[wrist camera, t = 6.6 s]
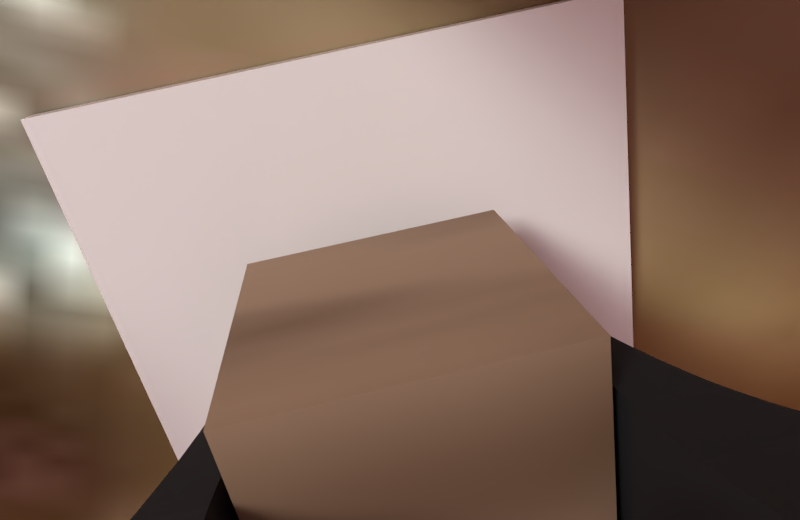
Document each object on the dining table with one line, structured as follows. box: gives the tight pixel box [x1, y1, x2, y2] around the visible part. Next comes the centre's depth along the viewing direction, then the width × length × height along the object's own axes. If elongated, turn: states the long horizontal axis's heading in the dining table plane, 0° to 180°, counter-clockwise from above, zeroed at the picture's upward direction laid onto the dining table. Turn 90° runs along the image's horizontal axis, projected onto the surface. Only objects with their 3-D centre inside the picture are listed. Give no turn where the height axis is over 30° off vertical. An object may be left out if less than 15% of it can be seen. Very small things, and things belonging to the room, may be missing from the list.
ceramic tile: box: [21, 0, 633, 461], centre depth 14 cm, size 12×12×1 cm
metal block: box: [203, 210, 617, 520], centre depth 10 cm, size 5×5×5 cm
